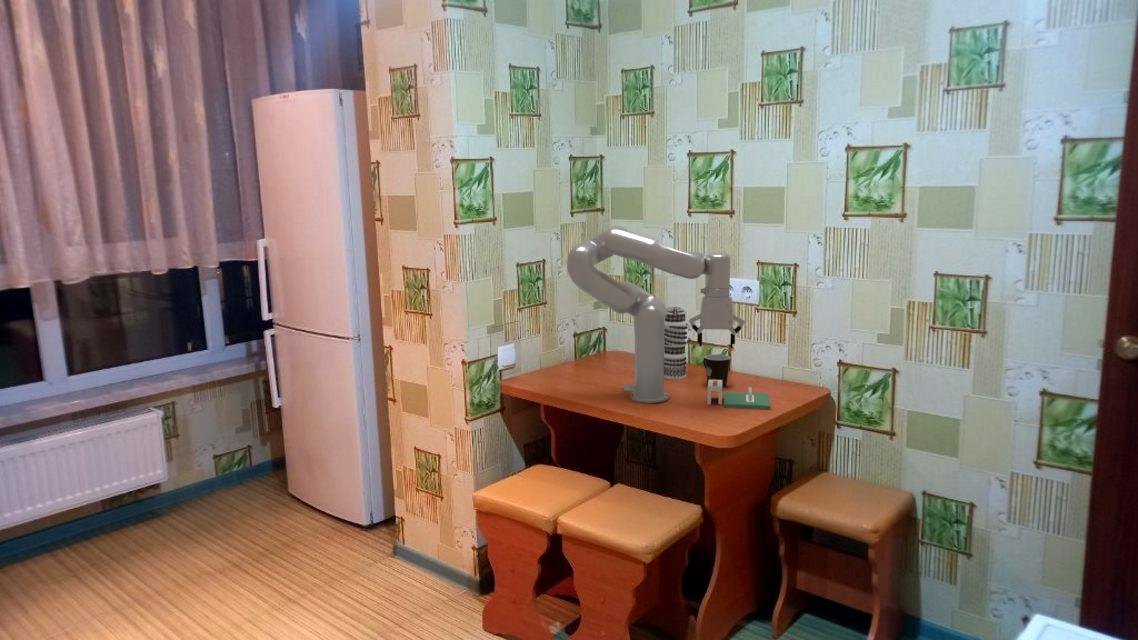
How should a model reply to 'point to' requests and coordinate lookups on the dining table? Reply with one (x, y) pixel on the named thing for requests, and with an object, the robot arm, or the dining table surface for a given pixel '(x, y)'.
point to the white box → (715, 389)
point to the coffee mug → (717, 367)
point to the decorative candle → (675, 343)
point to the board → (747, 400)
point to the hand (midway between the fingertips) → (716, 346)
